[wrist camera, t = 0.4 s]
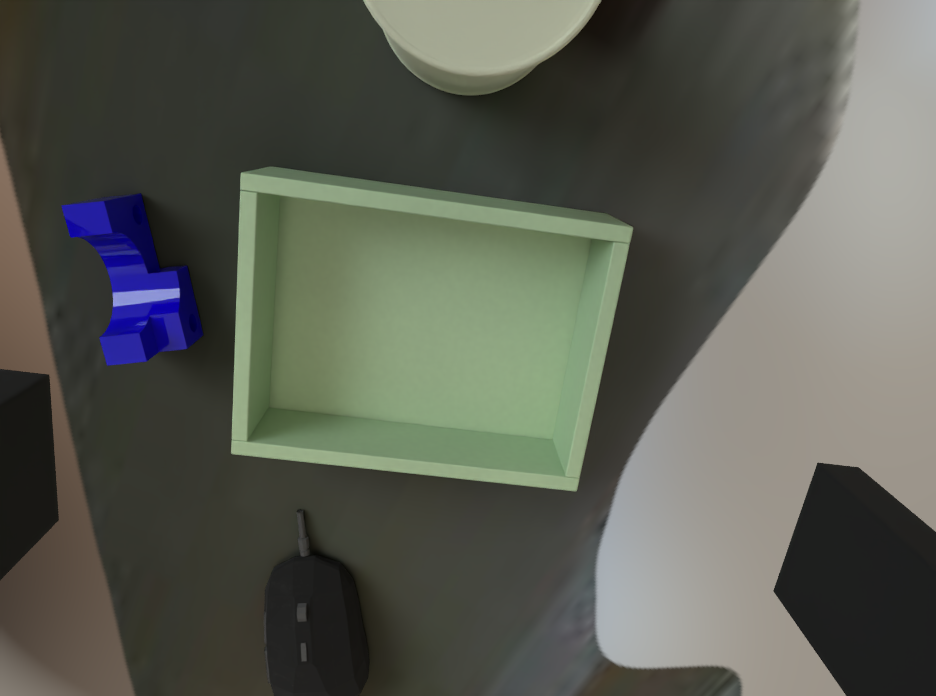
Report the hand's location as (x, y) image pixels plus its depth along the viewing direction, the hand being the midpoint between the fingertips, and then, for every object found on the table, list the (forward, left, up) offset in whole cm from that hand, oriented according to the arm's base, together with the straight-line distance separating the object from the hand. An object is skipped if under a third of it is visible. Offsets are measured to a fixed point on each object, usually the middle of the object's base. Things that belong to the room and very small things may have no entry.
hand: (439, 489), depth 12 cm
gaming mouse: (+25, -5, -26) cm, 36 cm away
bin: (+4, -1, -26) cm, 26 cm away
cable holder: (+3, -15, -26) cm, 31 cm away
